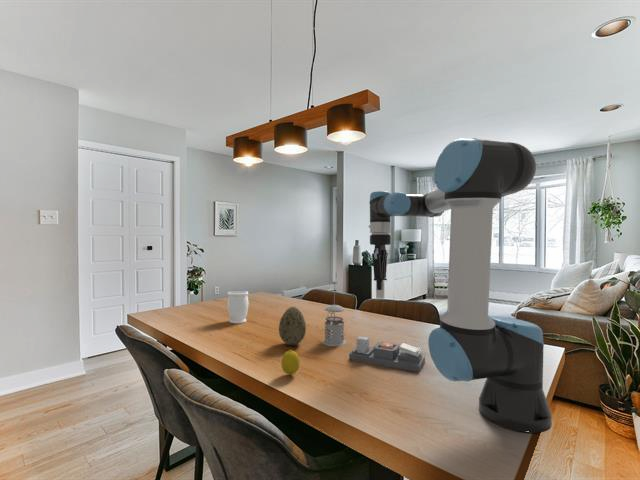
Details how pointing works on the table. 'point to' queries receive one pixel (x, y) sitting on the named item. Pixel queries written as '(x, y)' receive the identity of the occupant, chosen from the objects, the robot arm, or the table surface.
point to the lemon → (290, 362)
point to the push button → (386, 346)
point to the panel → (390, 358)
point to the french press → (334, 325)
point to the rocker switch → (410, 349)
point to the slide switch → (362, 345)
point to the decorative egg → (292, 326)
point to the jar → (237, 306)
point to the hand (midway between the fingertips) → (380, 298)
